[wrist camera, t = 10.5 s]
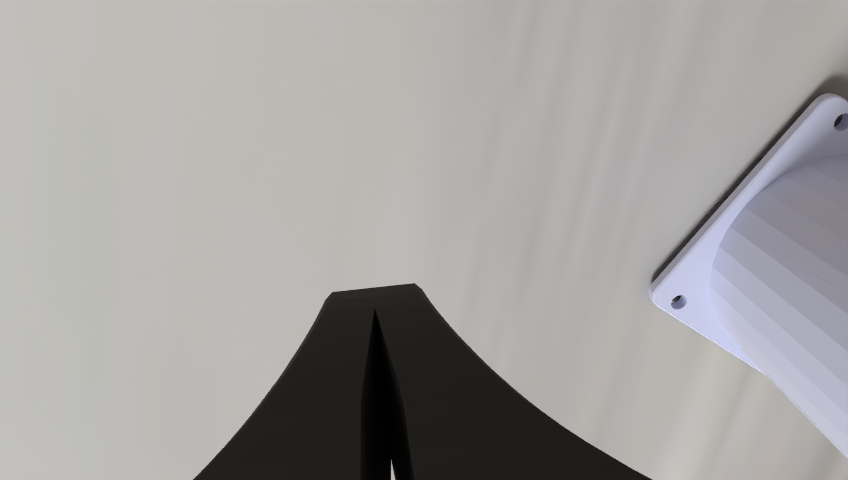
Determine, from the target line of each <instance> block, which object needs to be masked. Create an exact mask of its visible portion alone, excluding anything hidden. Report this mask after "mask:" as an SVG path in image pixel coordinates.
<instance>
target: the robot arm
mask: <svg viewBox="0 0 848 480" xmlns="http://www.w3.org/2000/svg"><path fill="white" fill-rule="evenodd" d="M841 114H842V120H841V122H840V123H839V124H838V125H837V126H836V127H834V122H835V120H836V119H837V117H838V116H840V115H841ZM648 294H649V298H650V299H651V300H652V301H653V303H654V304H655V305H656V306H657V307H659V308H661V309H662V310H664V311H665V312H667V313H668V314H670V315H672V316H673V317H675V318H676V319H678V320H680V321H681V322H683V323H684V324H686V325H687V326H689V327H691V328H692V329H694V330H695V331H697V332H698V333H700V334H702V335H703V336H705V337H706V338H708V339H709V340H711V341H713V342H714V343H716V344H717V345H719V346H721V347H722V348H724V349H725V350H727V351H728V352H730V353H732V354H733V355H735V356H736V357H738V358H739V359H741V360H743V361H744V362H746V363H747V364H749V365H750V366H752V367H754V368H755V369H757V370H758V371H760V372H762V373H763V374H765V375H766V376H768V378H769V379H770V380H771V381H772V382H773V383H774V384H775V385H776V386H777V387H778V388H779V389H780V390H781V391H782V392H783V393H784V394H785V395H786V396H787V397H788V398H789V399H790V400H791V401H792V402H793V403H794V404H795V405H796V406H797V407H798V408H799V409H800V411H801V412H802V413H803V414H804V415H805V416H806V417H807V418H808V419H809V420H810V421H811V422H812V423H813V424H814V425H815V426H816V427H817V428H818V429H819V430H820V431H821V432H822V433H823V434H824V435H825V436H826V437H827V438H828V439H829V440H830V441H831V442H832V443H833V445H834V446H835V447H836V448H837V449H838V450H839V451H840V452H841V453H842V454H843V455H844V456H845V457H846V458H847V459H848V101H847V100H846V99H845V98H843V97H841V96H839V95H836V94H833V93H825V94H823V95H821V96H819V97H817V98H816V99H815V100H814V101H813V102H812V103H811V104H810V105H809V107H808V108H807V109H806V110H805V111H804V112H803V113H802V114H801V116H800V117H799V118H798V119H797V120H796V121H795V122H794V123H793V125H792V126H791V127H790V128H789V129H788V130H787V131H786V133H785V134H784V135H783V136H782V137H781V138H780V139H779V140H778V142H777V143H776V144H775V145H774V146H773V147H772V148H771V149H770V151H769V152H768V153H767V154H766V155H765V156H764V157H763V159H762V160H761V161H760V162H759V163H758V164H757V165H756V166H755V168H754V169H753V170H752V171H751V172H750V173H749V174H748V175H747V177H746V178H745V179H744V180H743V181H742V182H741V183H740V185H739V186H738V187H737V188H736V189H735V190H734V191H733V192H732V194H731V195H730V196H729V197H728V198H727V199H726V200H725V201H724V203H723V204H722V205H721V206H720V207H719V208H718V209H717V211H716V212H715V213H714V214H713V215H712V216H711V217H710V218H709V220H708V221H707V222H706V223H705V224H704V225H703V226H702V227H701V229H700V230H699V231H698V232H697V233H696V234H695V235H694V237H693V238H692V239H691V240H690V241H689V242H688V243H687V244H686V246H685V247H684V248H683V249H682V250H681V251H680V252H679V253H678V255H677V256H676V257H675V258H674V259H673V260H672V261H671V263H670V264H669V265H668V266H667V267H666V268H665V269H664V270H663V272H662V273H661V274H660V275H659V276H658V277H657V278H656V279H655V281H654V282H653V283H652V284H651V286H650V288H649V292H648ZM679 295H681V297H680V299H679V300H678V301H677V302H675V303H671V302H672V300H673V298H675V297H676V296H679ZM391 460H392V465H393V470H394V475H395V480H652V479H650V478H648V477H646V476H644V475H642V474H641V473H639V472H637V471H635V470H633V469H631V468H630V467H628V466H626V465H624V464H623V463H621V462H619V461H618V460H616V459H614V458H613V457H611V456H609V455H608V454H606V453H604V452H603V451H601V450H599V449H598V448H596V447H594V446H593V445H591V444H589V443H587V442H586V441H584V440H583V439H581V438H580V437H578V436H577V435H575V434H574V433H572V432H570V431H569V430H567V429H566V428H564V427H563V426H561V425H560V424H559V423H557V422H556V421H555V420H553V419H552V418H550V417H549V416H548V415H546V414H545V413H543V412H542V411H541V410H539V409H538V408H537V407H536V406H534V405H533V404H532V403H531V402H529V401H528V400H527V399H526V398H524V397H523V396H522V395H521V394H519V393H518V392H517V391H516V390H515V389H513V388H512V387H511V386H510V385H509V384H508V383H507V382H506V381H504V380H503V379H502V378H501V377H500V376H499V375H498V374H497V373H496V372H494V371H493V370H492V369H491V368H490V367H489V366H488V365H487V364H486V363H485V362H484V361H483V360H482V359H481V358H480V357H479V356H478V355H477V354H476V353H475V352H474V351H473V350H472V349H471V348H470V347H469V346H468V345H467V344H466V343H465V342H464V341H463V340H462V339H461V338H460V337H459V336H458V334H457V333H456V332H455V331H454V330H453V329H452V328H451V327H450V326H449V324H448V323H447V322H446V321H445V320H444V318H443V317H442V316H441V315H440V314H439V312H438V311H437V310H436V309H435V307H434V306H433V305H432V303H431V302H430V301H429V299H428V298H427V296H426V295H425V293H424V292H423V290H422V289H421V288H420V287H418V286H417V285H416V284H415V283H413V284H404V285H394V286H385V287H376V288H367V289H357V290H348V291H339V292H332V293H331V294H330V295H329V296H328V298H327V299H326V300H325V302H324V304H323V306H322V308H321V310H320V312H319V314H318V316H317V318H316V320H315V322H314V324H313V325H312V327H311V329H310V331H309V332H308V334H307V336H306V337H305V339H304V341H303V342H302V344H301V346H300V347H299V349H298V350H297V352H296V353H295V355H294V356H293V358H292V359H291V361H290V363H289V364H288V366H287V367H286V369H285V370H284V372H283V373H282V375H281V376H280V377H279V379H278V380H277V382H276V383H275V384H274V386H273V387H272V388H271V390H270V391H269V392H268V394H267V395H266V396H265V398H264V399H263V400H262V402H261V403H260V404H259V406H258V407H257V408H256V410H255V411H254V412H253V413H252V415H251V416H250V417H249V419H248V420H247V421H246V422H245V423H244V425H243V426H242V427H241V428H240V429H239V431H238V432H237V433H236V434H235V435H234V436H233V438H232V439H231V440H230V441H229V442H228V443H227V444H226V446H225V447H224V448H223V449H222V450H221V451H220V452H219V453H218V454H217V455H216V456H215V458H214V459H213V460H212V461H211V462H210V463H209V464H208V465H207V466H206V467H205V468H204V469H203V470H202V471H201V472H200V473H199V475H197V476H196V477H195V478H194V479H193V480H391Z"/></svg>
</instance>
